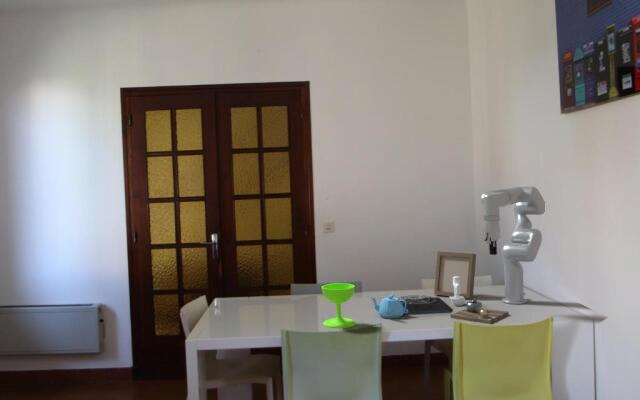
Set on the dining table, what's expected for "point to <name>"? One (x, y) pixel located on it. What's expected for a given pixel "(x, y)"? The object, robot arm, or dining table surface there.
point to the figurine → (457, 293)
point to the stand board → (476, 317)
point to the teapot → (390, 307)
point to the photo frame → (455, 273)
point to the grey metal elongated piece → (476, 307)
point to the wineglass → (338, 303)
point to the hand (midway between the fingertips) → (493, 254)
